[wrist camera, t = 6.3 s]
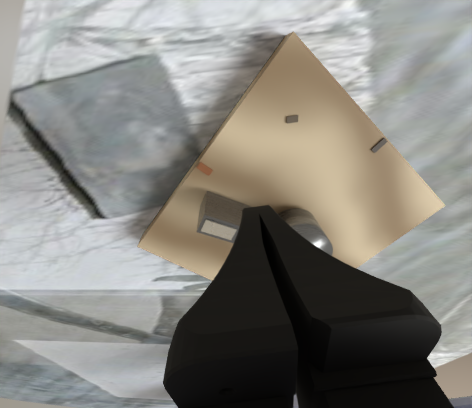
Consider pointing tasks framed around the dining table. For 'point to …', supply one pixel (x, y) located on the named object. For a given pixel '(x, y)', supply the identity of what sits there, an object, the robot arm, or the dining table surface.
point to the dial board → (296, 168)
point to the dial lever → (230, 214)
